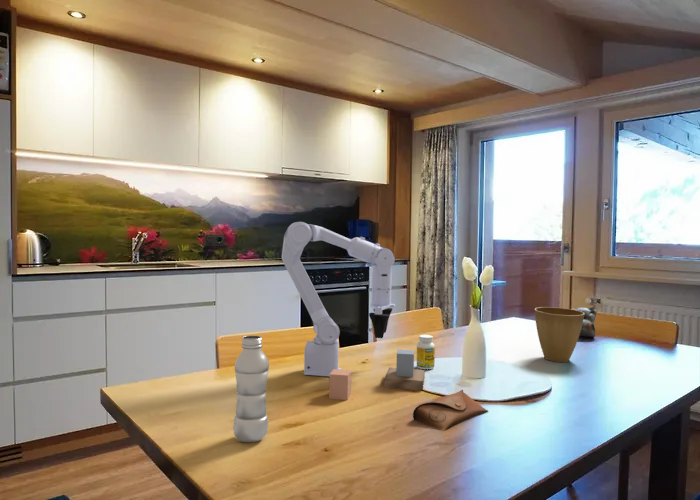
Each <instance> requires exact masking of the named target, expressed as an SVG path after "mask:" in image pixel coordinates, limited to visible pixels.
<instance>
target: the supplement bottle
mask: <svg viewBox="0 0 700 500" xmlns="http://www.w3.org/2000/svg"><path fill="white" fill-rule="evenodd" d="M433 337H434V336H433V335H430V334H421V335H419V338H418V340H419V342H417V344H416V367H418V368H417V369H419V368H420V369H419V370H422V369H427V370H426V371H429V370H428V369H431V370H434V368H435V358H436V356H435V351H436V350H435V349H436V346H435V343H434V342H433V340H434V339H433Z"/></svg>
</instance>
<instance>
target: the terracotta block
mask: <svg viewBox="0 0 700 500" xmlns="http://www.w3.org/2000/svg"><path fill="white" fill-rule="evenodd" d="M328 390H329V392H328V393H329V396H328V397H329V400H330V399H331V400H332V399H333V400H342V401H343V400H344V401H345V400H346V401H347V400H349V398H350V396H351V394H352V369H333V371H332V372H331V373H330V377H329V389H328Z"/></svg>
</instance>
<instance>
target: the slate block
mask: <svg viewBox="0 0 700 500" xmlns="http://www.w3.org/2000/svg"><path fill="white" fill-rule="evenodd" d="M414 365H415V350H414V349H399V348H397V351H396V367H395V368H396V376H407V377H413V374H414V369H415V368H414Z"/></svg>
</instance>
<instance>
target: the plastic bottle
mask: <svg viewBox="0 0 700 500" xmlns="http://www.w3.org/2000/svg"><path fill="white" fill-rule="evenodd" d="M262 338H263V337H262V336H260V335H245V336H243V337H241V348H242V351H241V352H240V354H239V355H238V357H237V358H236V360H235V363H234V373H235V382H236V393H237V394H236V397H237V398H236V409H235V416H234V419H233V427H232V428H233V429H232V430H233V435H234V436H235V438H236V439H237V441H240V442H243V443H255V442H259V441H261V440H263V439H264V438H265V437H266V436H267V434H268V429H269V417H268V413H267V403H266V401H267V400H266V397H267V396H266V395H267V394H266V393H267V392H266V391H267V383H268V382H267V381H268V377H269V372H270V371H269V369H270V362H269V358H268V357H267V355H266V354H265V353H264V351H263V350H262V347H263V341H262V340H263V339H262Z"/></svg>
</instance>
